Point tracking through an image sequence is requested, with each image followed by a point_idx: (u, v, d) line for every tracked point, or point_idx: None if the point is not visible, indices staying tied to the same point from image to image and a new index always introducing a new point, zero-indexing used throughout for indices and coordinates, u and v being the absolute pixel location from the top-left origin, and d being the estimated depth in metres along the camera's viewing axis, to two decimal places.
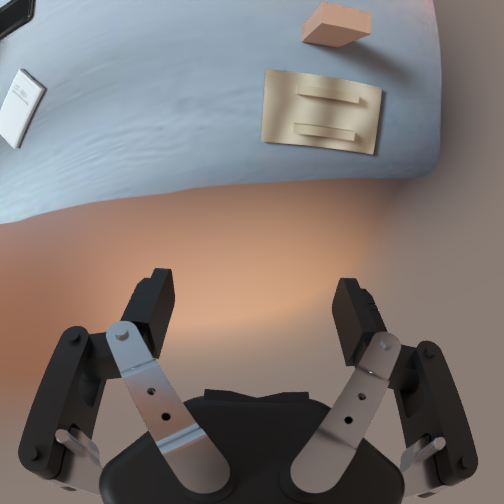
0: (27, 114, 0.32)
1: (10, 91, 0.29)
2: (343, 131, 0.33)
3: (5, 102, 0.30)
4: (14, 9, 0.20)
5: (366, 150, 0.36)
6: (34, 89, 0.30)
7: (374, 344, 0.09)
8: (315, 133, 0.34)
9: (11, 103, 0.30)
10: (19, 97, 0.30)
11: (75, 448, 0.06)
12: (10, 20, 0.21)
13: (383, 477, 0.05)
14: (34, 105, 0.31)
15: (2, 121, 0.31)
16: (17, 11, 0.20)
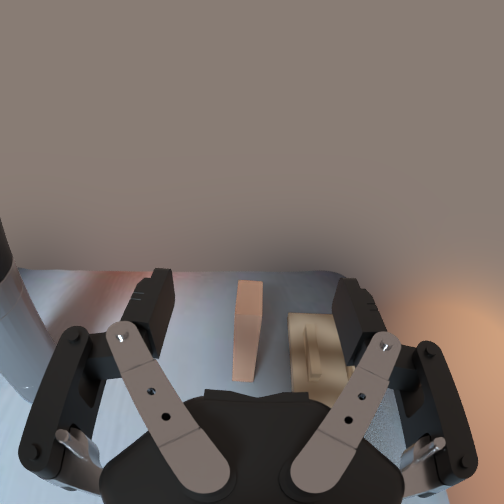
0: None
1: None
2: None
3: None
4: None
5: None
6: None
7: (374, 344, 0.09)
8: None
9: None
10: None
11: (75, 448, 0.06)
12: None
13: (383, 477, 0.05)
14: None
15: None
16: None
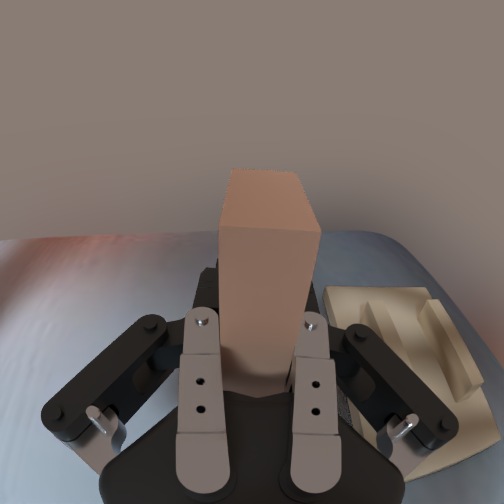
0: None
1: None
2: (437, 314, 0.17)
3: None
4: None
5: (426, 295, 0.22)
6: None
7: None
8: (466, 351, 0.14)
9: None
10: None
11: (101, 427, 0.06)
12: None
13: (377, 475, 0.05)
14: None
15: None
16: None
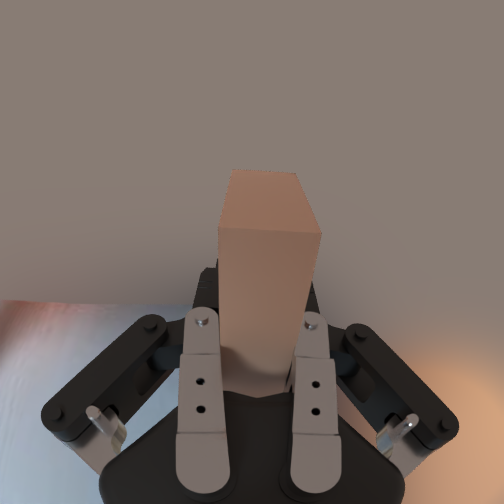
0: None
1: None
2: None
3: None
4: None
5: None
6: None
7: None
8: None
9: None
10: None
11: (101, 427, 0.06)
12: None
13: (377, 475, 0.05)
14: None
15: None
16: None
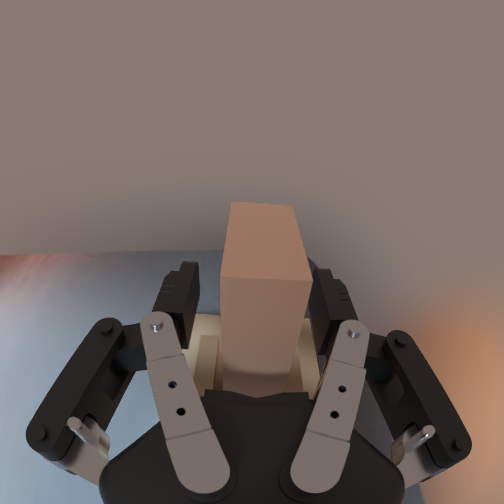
0: None
1: None
2: None
3: None
4: None
5: (305, 328, 0.22)
6: None
7: (341, 331, 0.10)
8: None
9: None
10: None
11: (85, 437, 0.06)
12: None
13: (380, 476, 0.05)
14: None
15: None
16: None
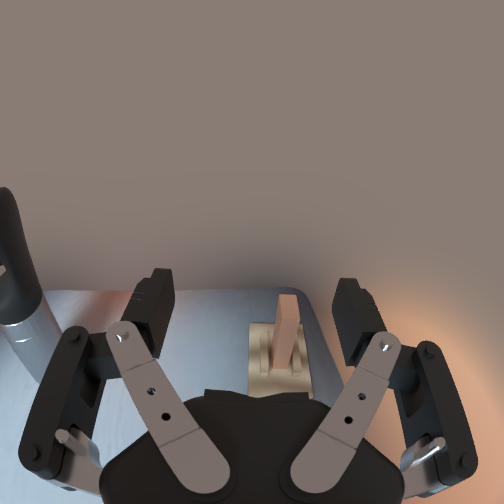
0: None
1: None
2: None
3: None
4: None
5: (300, 328, 0.52)
6: None
7: (374, 344, 0.09)
8: (298, 356, 0.44)
9: None
10: None
11: (75, 448, 0.06)
12: None
13: (383, 477, 0.05)
14: None
15: None
16: None
